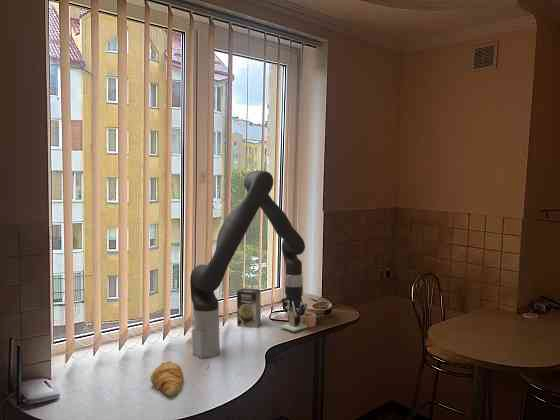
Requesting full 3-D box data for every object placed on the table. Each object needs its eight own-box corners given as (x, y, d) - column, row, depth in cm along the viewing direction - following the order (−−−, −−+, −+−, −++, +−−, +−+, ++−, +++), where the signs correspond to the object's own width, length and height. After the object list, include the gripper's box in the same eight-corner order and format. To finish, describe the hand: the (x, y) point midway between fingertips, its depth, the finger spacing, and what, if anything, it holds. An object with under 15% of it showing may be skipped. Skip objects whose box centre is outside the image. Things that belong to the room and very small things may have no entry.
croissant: (181, 408, 143) (193, 383, 144) (151, 398, 139) (163, 374, 140) (171, 377, 163) (182, 356, 163) (144, 369, 159) (155, 347, 160)
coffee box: (236, 327, 204) (236, 291, 202) (242, 323, 210) (241, 287, 208) (256, 329, 201) (255, 292, 200) (261, 324, 207) (260, 289, 206)
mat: (294, 335, 193) (294, 334, 193) (280, 330, 199) (280, 329, 199) (308, 330, 199) (308, 329, 199) (294, 325, 205) (294, 324, 205)
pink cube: (308, 329, 200) (308, 318, 200) (297, 325, 205) (297, 314, 205) (318, 325, 205) (318, 314, 204) (307, 322, 209) (307, 311, 209)
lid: (294, 331, 194) (293, 315, 193) (281, 327, 199) (281, 311, 199) (306, 327, 199) (306, 311, 198) (294, 323, 204) (294, 307, 204)
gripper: (275, 282, 200) (276, 322, 201) (299, 288, 190) (299, 330, 191) (288, 279, 205) (289, 318, 206) (312, 285, 195) (312, 325, 196)
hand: (294, 323), depth 199 cm, fingers closed on lid, 3 cm apart
